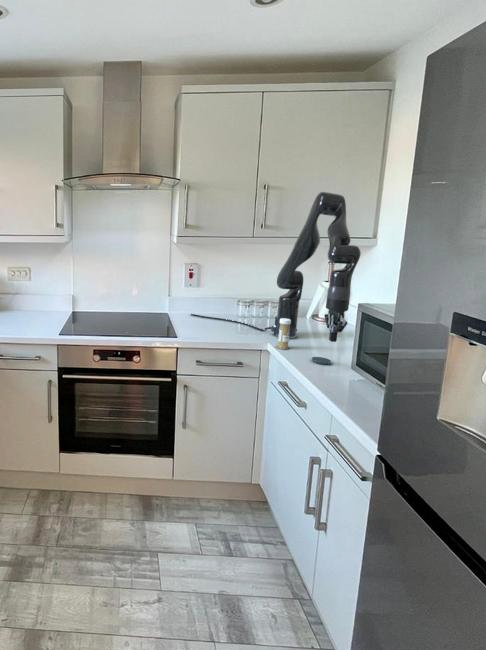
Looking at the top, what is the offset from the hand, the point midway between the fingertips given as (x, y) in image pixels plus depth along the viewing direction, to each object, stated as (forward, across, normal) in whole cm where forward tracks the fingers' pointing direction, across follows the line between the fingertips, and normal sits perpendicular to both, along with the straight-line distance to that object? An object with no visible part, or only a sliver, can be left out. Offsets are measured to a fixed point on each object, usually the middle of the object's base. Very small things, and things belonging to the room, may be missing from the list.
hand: (332, 341), depth 162 cm
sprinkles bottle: (+12, -26, -8) cm, 29 cm away
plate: (+11, -7, 0) cm, 13 cm away
